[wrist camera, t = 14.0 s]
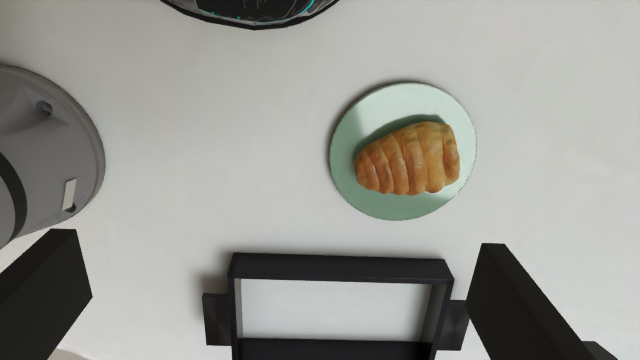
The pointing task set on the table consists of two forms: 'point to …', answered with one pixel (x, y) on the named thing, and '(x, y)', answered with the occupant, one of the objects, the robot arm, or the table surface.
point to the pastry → (410, 160)
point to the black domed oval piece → (252, 11)
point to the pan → (341, 355)
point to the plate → (383, 118)
